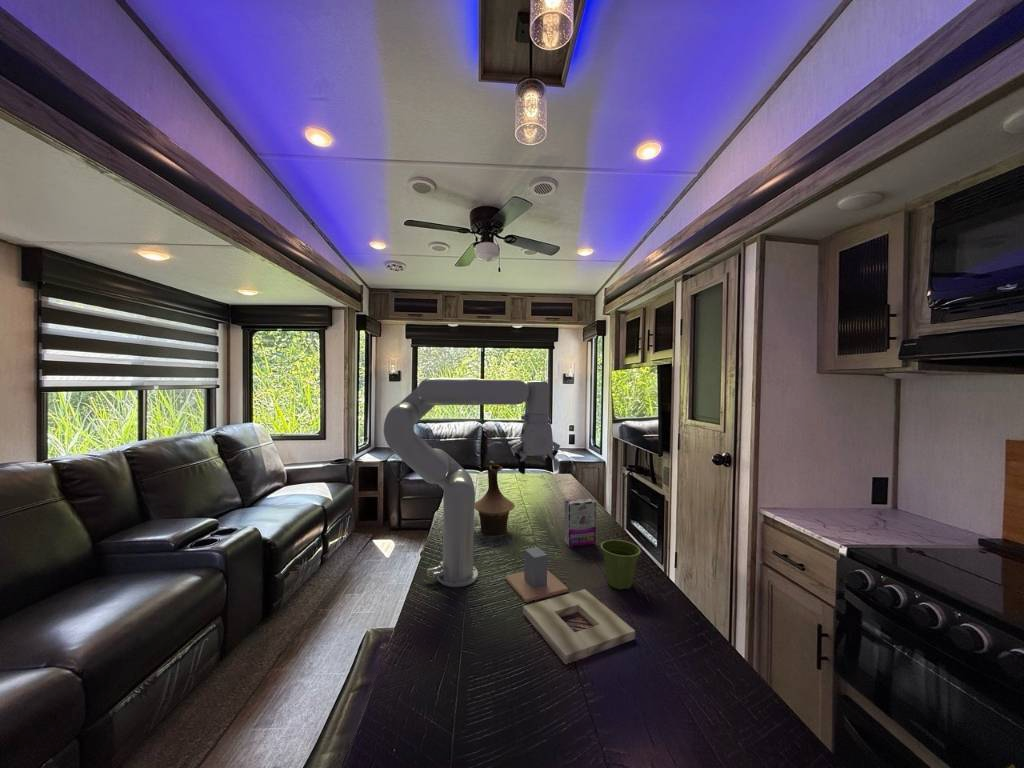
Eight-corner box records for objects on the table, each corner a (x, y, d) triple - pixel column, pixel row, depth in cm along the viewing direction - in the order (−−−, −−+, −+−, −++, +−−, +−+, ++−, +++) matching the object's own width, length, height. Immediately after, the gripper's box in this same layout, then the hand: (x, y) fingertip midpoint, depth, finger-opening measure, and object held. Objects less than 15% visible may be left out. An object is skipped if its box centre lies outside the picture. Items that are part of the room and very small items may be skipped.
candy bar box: (589, 539, 150) (590, 497, 149) (595, 544, 145) (596, 501, 145) (563, 542, 147) (564, 499, 146) (568, 547, 142) (569, 503, 142)
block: (533, 588, 112) (534, 557, 112) (524, 578, 117) (524, 549, 117) (546, 584, 114) (547, 554, 114) (536, 575, 119) (537, 546, 119)
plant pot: (642, 597, 110) (643, 558, 110) (600, 591, 112) (601, 553, 112) (637, 576, 122) (638, 541, 121) (599, 572, 124) (600, 537, 124)
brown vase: (468, 524, 162) (469, 459, 162) (505, 520, 168) (506, 457, 168) (479, 541, 146) (480, 468, 146) (520, 535, 152) (521, 465, 152)
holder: (565, 664, 83) (565, 655, 83) (523, 613, 101) (523, 606, 101) (634, 638, 92) (635, 630, 92) (584, 596, 110) (584, 589, 110)
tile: (526, 602, 106) (526, 599, 106) (504, 578, 119) (504, 575, 119) (568, 591, 112) (568, 588, 112) (543, 569, 125) (543, 566, 125)
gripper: (517, 420, 116) (515, 477, 116) (565, 419, 123) (564, 472, 123) (507, 418, 123) (506, 471, 123) (553, 417, 130) (552, 467, 130)
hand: (535, 471), depth 123 cm, fingers open, 9 cm apart
